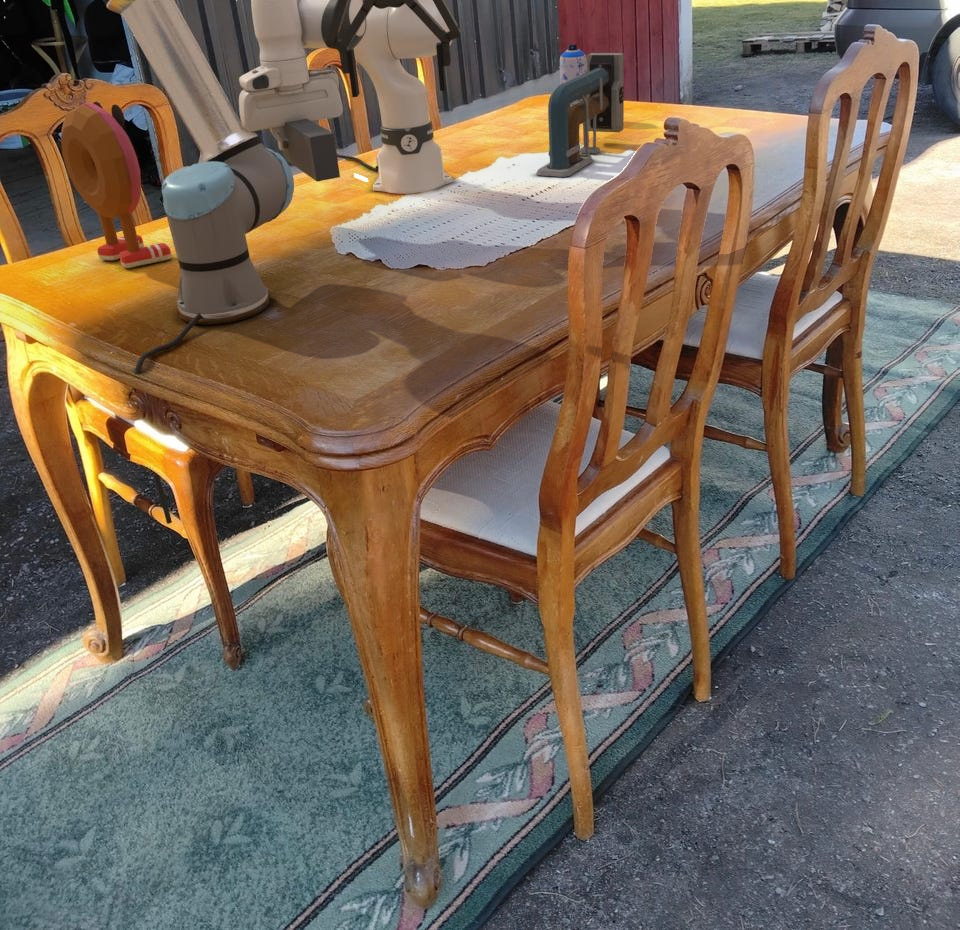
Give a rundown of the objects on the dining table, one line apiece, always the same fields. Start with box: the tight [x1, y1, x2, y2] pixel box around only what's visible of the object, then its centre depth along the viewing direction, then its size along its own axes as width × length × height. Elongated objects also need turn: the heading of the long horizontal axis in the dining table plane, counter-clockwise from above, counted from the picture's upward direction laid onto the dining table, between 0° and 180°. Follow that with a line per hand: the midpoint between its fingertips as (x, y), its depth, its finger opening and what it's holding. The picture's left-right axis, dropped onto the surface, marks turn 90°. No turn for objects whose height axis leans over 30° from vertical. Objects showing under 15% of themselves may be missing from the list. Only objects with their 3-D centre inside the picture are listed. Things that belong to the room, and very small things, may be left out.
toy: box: [60, 101, 172, 269], centre depth 187 cm, size 21×10×30 cm, turn 47°
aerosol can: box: [559, 43, 587, 107], centre depth 273 cm, size 8×8×20 cm
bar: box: [278, 119, 341, 182], centre depth 188 cm, size 23×5×8 cm, turn 25°
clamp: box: [535, 52, 625, 178], centre depth 233 cm, size 35×9×21 cm, turn 151°
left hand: (399, 92), depth 149 cm, fingers open, 13 cm apart
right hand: (297, 146), depth 194 cm, fingers closed on bar, 4 cm apart
